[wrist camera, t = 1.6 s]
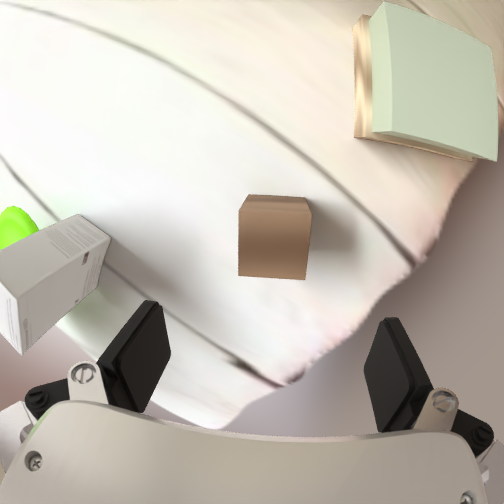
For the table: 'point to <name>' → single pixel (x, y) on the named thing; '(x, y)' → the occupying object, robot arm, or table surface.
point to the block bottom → (365, 96)
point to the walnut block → (274, 237)
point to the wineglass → (15, 226)
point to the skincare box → (48, 277)
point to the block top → (432, 83)
